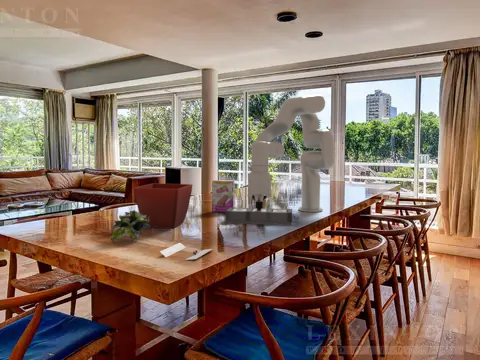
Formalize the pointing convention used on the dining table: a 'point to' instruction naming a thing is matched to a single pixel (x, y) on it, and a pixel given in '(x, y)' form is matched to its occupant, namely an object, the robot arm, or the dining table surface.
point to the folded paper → (179, 247)
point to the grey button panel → (259, 216)
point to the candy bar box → (222, 195)
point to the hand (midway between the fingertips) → (259, 210)
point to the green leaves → (130, 225)
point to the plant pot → (163, 203)
